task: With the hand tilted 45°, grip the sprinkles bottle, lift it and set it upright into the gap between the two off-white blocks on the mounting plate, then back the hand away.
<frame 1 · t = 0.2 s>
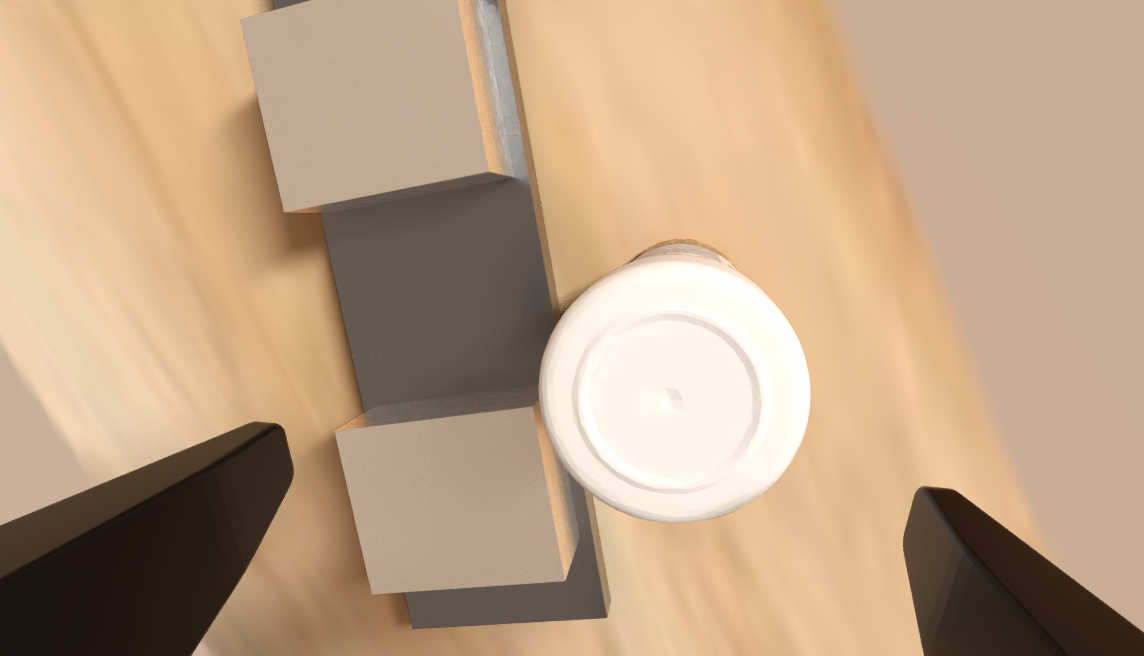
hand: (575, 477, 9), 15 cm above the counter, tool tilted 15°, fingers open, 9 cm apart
sprinkles bottle: (680, 299, 24), on the counter
mounting plate: (452, 293, 25), on the counter
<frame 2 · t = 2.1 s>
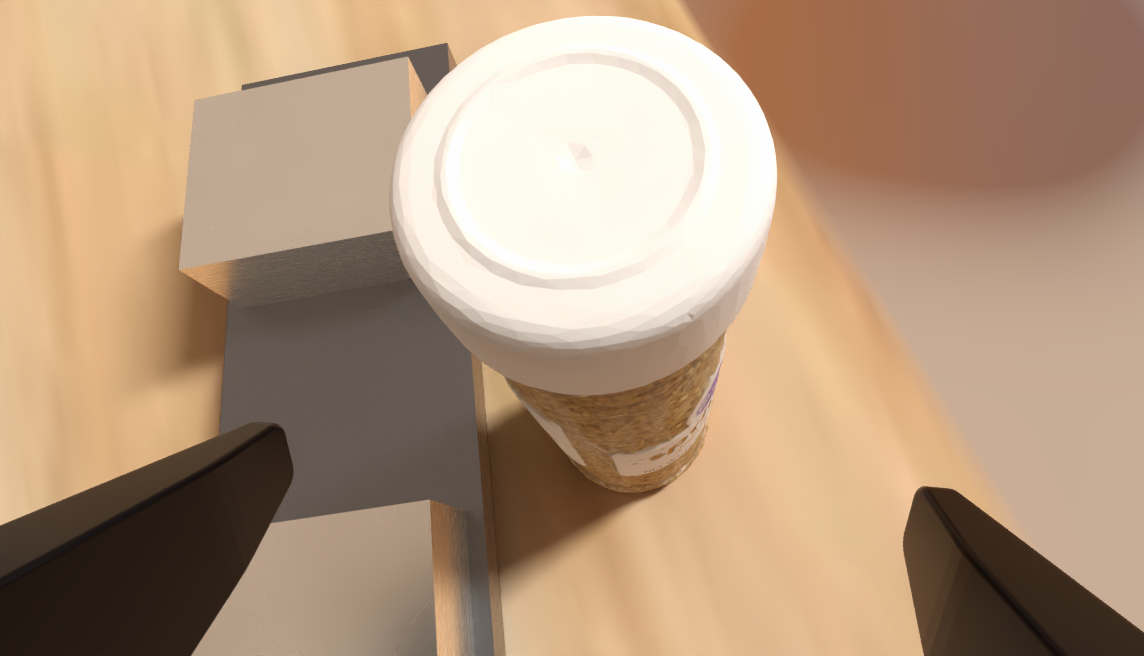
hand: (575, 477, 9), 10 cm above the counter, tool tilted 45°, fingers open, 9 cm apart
sprinkles bottle: (631, 417, 20), on the counter
mounting plate: (361, 410, 21), on the counter
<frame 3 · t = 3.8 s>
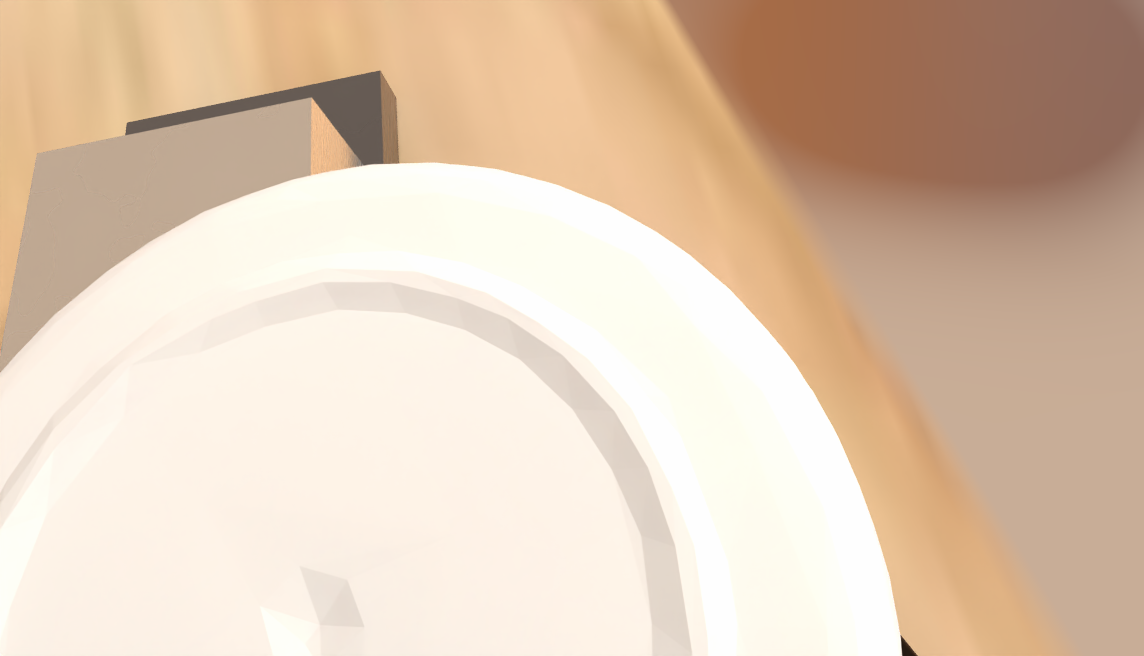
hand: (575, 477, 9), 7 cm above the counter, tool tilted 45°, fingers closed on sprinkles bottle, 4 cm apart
sprinkles bottle: (606, 573, 15), on the counter, touching gripper
mounting plate: (258, 554, 16), on the counter
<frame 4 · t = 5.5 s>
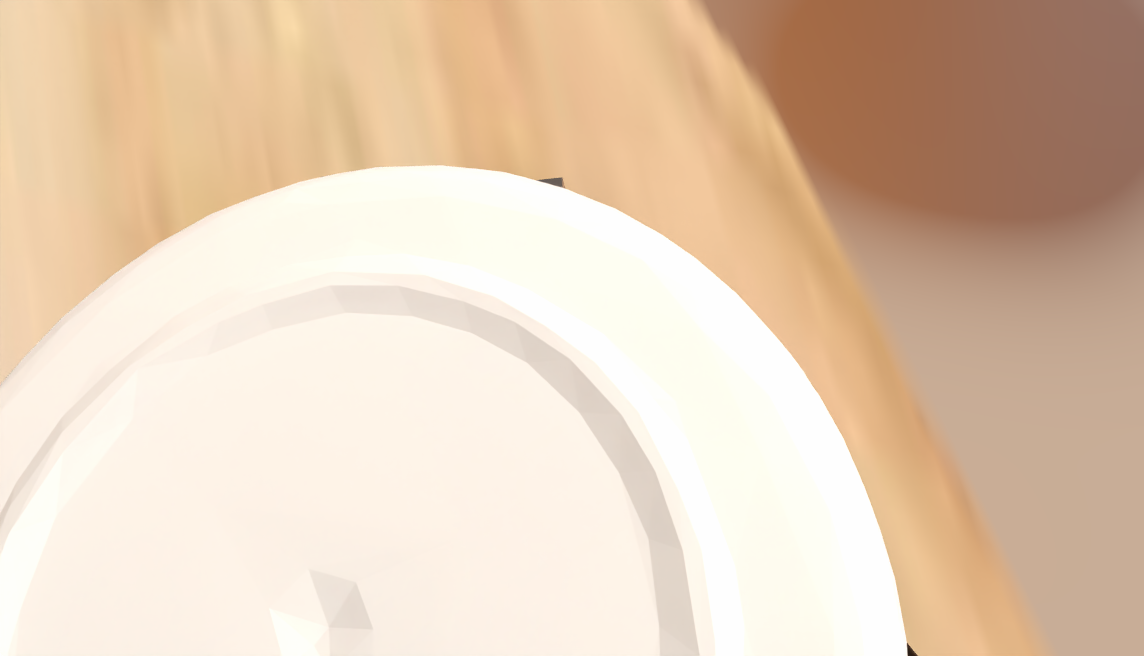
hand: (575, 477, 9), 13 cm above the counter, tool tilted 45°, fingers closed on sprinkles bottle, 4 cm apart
sprinkles bottle: (607, 571, 15), point 6 cm above the counter, touching gripper
when the fingers open (9 cm above the counter, at t = 7.3 s): sprinkles bottle stays where it is, resting on mounting plate.
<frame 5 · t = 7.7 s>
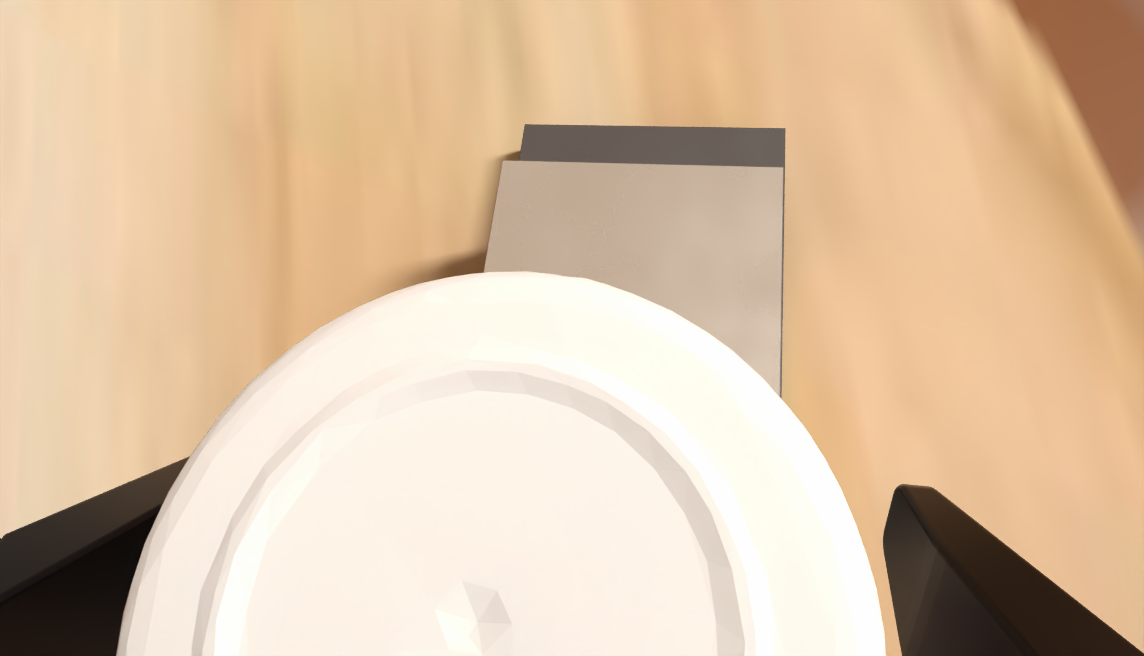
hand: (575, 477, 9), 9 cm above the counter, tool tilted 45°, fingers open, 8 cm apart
sprinkles bottle: (609, 578, 16), point 1 cm above the counter, touching mounting plate
mounting plate: (613, 571, 17), on the counter
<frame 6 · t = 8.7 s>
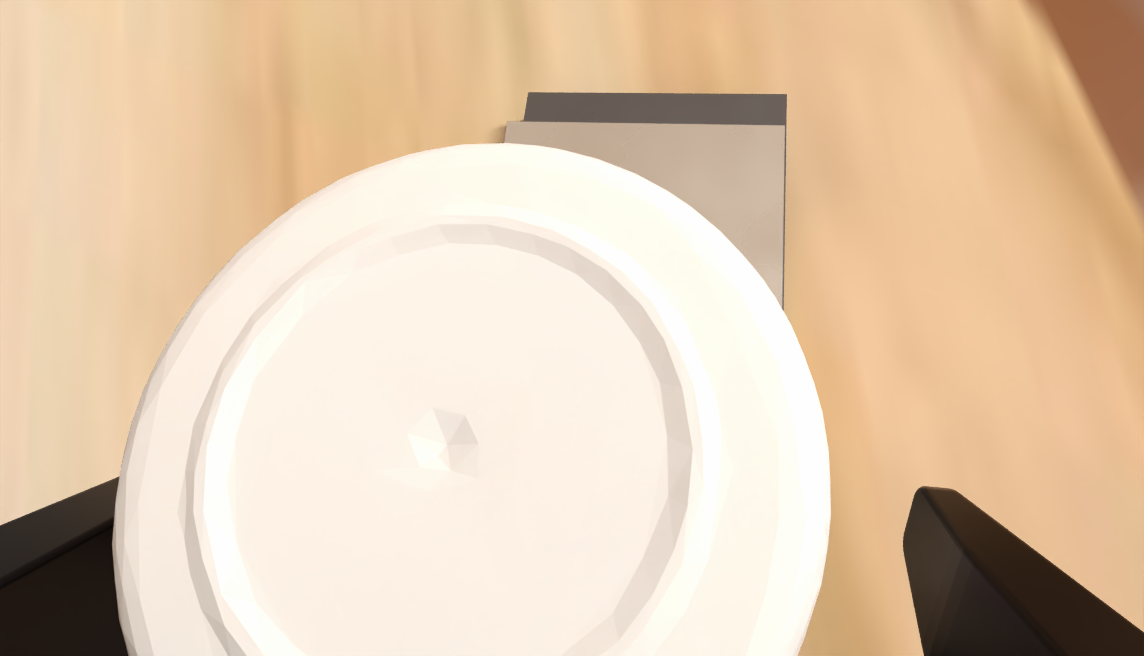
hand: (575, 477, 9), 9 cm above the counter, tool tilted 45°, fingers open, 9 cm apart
sprinkles bottle: (613, 532, 17), point 1 cm above the counter, touching mounting plate
mounting plate: (617, 528, 18), on the counter
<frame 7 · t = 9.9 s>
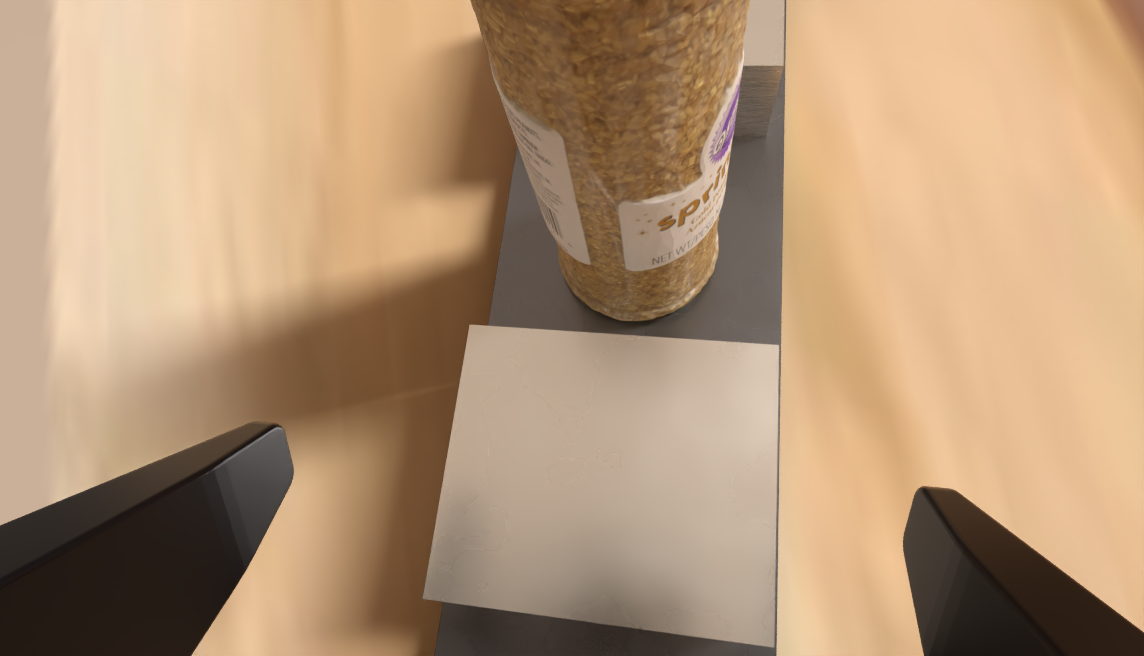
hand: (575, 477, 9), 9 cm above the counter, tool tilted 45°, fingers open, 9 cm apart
sprinkles bottle: (636, 252, 19), point 1 cm above the counter, touching mounting plate
mounting plate: (638, 262, 20), on the counter
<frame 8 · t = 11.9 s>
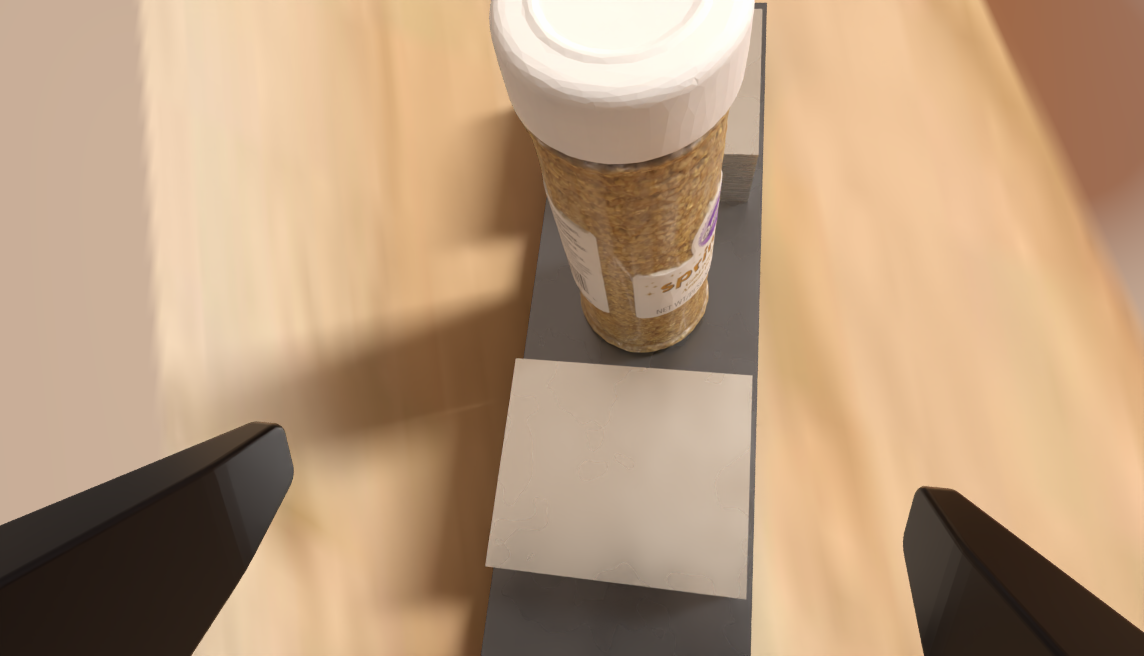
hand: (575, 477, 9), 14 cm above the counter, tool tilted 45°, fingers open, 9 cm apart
sprinkles bottle: (643, 296, 24), point 1 cm above the counter, touching mounting plate
mounting plate: (644, 302, 25), on the counter
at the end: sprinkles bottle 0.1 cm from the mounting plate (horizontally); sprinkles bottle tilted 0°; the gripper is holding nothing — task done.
